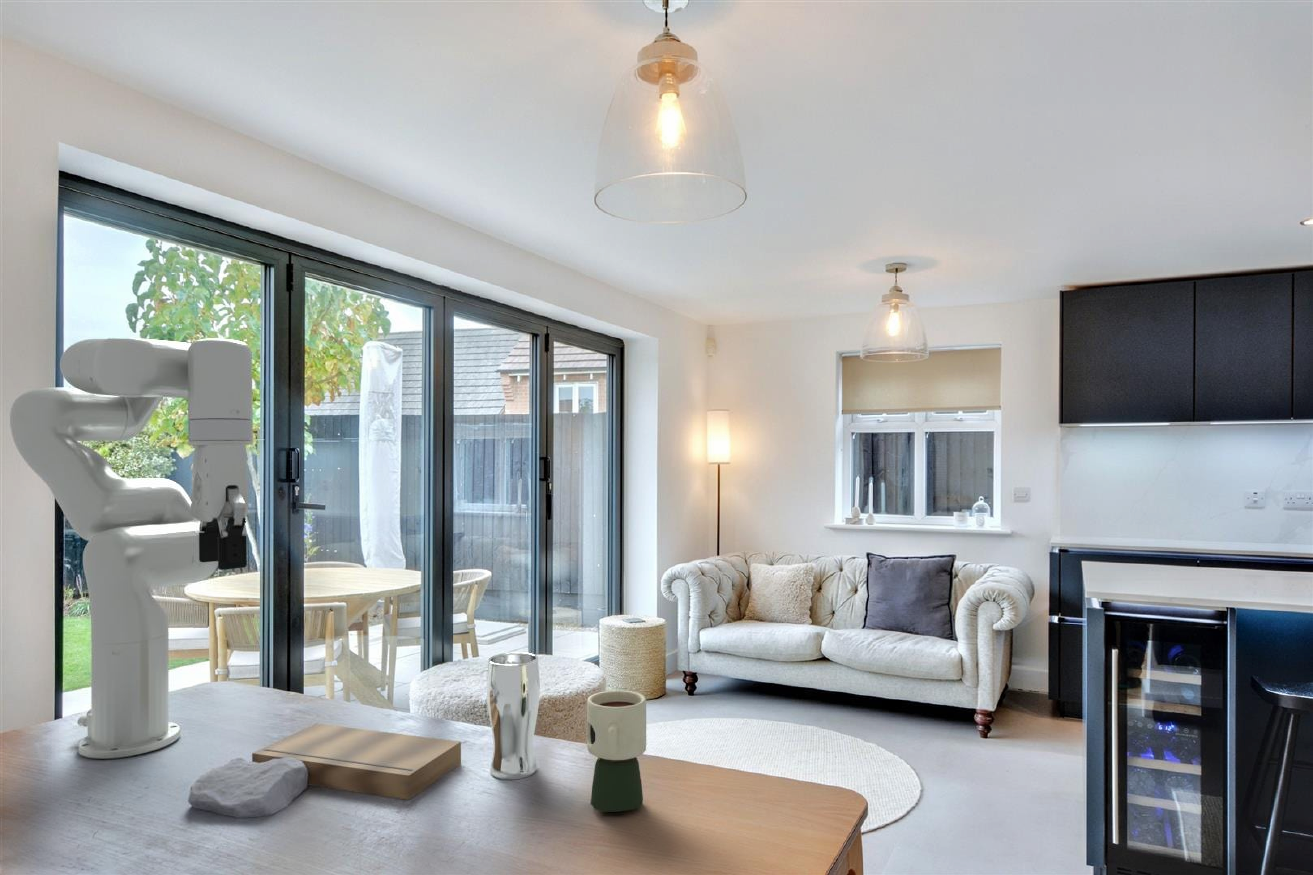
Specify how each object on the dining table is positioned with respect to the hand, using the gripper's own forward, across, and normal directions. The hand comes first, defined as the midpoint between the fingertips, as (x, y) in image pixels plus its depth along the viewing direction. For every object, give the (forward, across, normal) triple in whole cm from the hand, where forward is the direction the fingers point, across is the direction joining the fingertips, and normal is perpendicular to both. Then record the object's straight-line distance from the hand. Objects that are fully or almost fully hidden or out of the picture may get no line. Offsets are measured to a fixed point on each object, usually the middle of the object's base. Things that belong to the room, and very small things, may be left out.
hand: (222, 564), depth 108 cm
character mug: (+29, +41, +33) cm, 60 cm away
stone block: (+29, +9, 0) cm, 30 cm away
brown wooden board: (+28, +9, +14) cm, 33 cm away
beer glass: (+29, +23, +30) cm, 47 cm away
